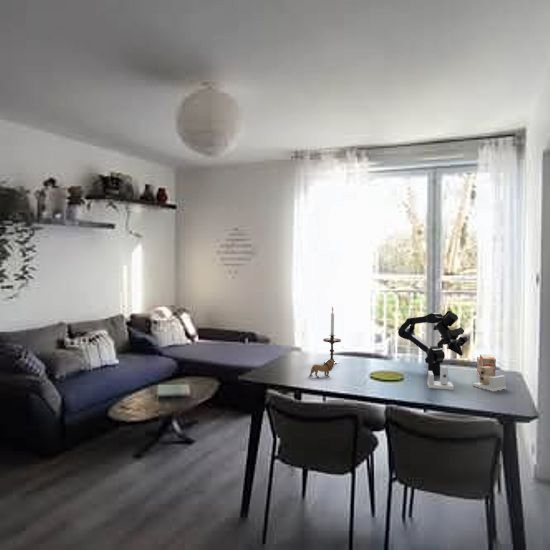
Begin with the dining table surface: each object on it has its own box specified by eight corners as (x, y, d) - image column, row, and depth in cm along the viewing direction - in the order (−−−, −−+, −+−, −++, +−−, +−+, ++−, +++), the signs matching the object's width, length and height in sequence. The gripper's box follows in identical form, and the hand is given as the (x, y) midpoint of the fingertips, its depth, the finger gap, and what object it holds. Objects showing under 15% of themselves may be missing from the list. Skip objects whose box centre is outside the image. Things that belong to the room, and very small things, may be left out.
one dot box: (450, 384, 245) (451, 372, 245) (453, 389, 235) (453, 376, 235) (427, 383, 247) (427, 370, 247) (428, 387, 238) (429, 374, 237)
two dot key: (479, 383, 241) (479, 367, 241) (487, 381, 244) (487, 366, 244) (484, 384, 238) (484, 368, 238) (492, 383, 242) (493, 367, 241)
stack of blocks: (476, 372, 276) (477, 351, 276) (488, 373, 274) (489, 352, 274) (482, 381, 255) (483, 358, 255) (495, 382, 253) (496, 358, 253)
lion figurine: (331, 374, 264) (331, 358, 264) (335, 376, 259) (336, 360, 259) (306, 376, 259) (307, 359, 258) (311, 378, 254) (311, 361, 253)
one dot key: (446, 381, 243) (446, 365, 243) (447, 384, 237) (448, 368, 237) (439, 381, 244) (440, 365, 244) (441, 383, 238) (441, 367, 238)
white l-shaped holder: (472, 386, 242) (472, 373, 242) (485, 384, 247) (485, 371, 247) (493, 391, 232) (493, 378, 232) (506, 389, 237) (506, 376, 237)
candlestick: (320, 361, 302) (321, 305, 302) (336, 360, 305) (337, 305, 304) (326, 364, 292) (327, 306, 291) (343, 364, 294) (344, 306, 294)
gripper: (442, 323, 254) (458, 347, 245) (465, 321, 263) (482, 344, 254) (430, 336, 261) (446, 359, 252) (453, 334, 270) (469, 357, 261)
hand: (461, 355), depth 254 cm, fingers closed
